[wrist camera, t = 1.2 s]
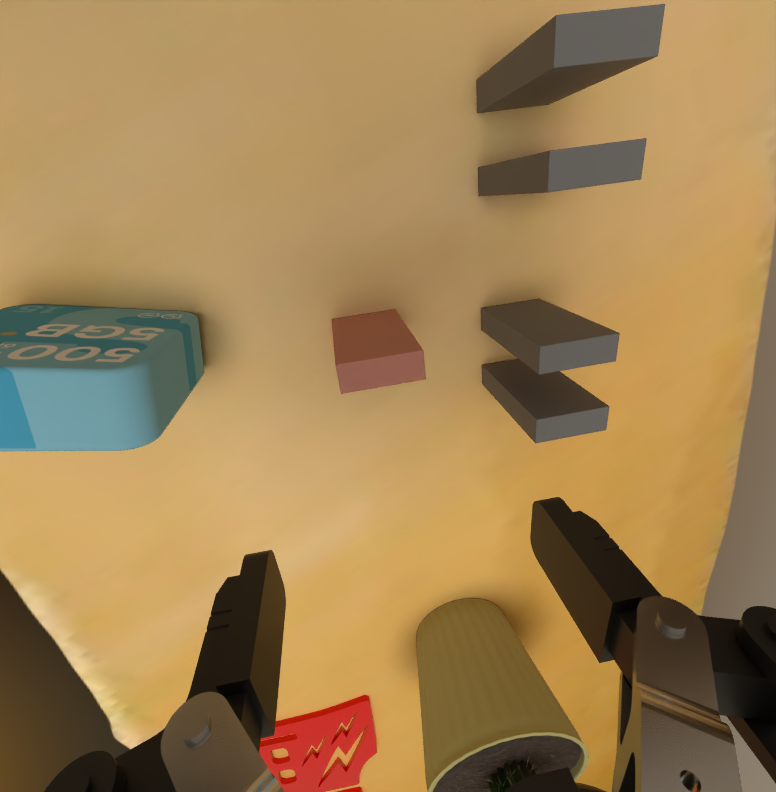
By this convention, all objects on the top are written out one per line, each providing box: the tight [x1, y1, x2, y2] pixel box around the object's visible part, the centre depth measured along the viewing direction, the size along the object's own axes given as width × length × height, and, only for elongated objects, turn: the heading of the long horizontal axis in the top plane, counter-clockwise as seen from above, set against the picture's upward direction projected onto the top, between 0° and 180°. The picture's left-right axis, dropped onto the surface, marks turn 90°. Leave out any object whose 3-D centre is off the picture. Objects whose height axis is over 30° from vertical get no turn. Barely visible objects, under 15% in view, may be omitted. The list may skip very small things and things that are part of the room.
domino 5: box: [482, 359, 609, 443], centre depth 31 cm, size 2×5×10 cm, turn 97°
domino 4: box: [481, 299, 620, 374], centre depth 29 cm, size 2×5×10 cm, turn 97°
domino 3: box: [478, 138, 647, 196], centre depth 25 cm, size 2×5×10 cm, turn 97°
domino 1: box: [332, 309, 426, 394], centre depth 28 cm, size 2×5×10 cm, turn 97°
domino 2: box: [476, 4, 665, 113], centre depth 22 cm, size 2×5×10 cm, turn 97°
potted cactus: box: [416, 598, 589, 792], centre depth 37 cm, size 15×15×30 cm
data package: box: [0, 304, 204, 451], centre depth 24 cm, size 12×4×12 cm, turn 85°
